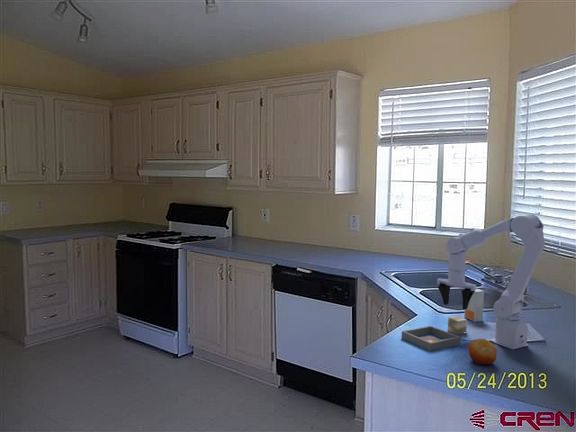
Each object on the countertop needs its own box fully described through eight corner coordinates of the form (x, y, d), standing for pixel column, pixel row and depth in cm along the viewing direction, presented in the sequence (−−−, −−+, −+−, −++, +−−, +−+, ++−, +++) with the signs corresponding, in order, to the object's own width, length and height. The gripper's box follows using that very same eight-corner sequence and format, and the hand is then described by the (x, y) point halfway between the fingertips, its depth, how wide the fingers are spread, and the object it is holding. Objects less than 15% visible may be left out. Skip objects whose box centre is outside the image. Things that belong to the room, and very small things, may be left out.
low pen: (460, 344, 162) (460, 337, 162) (430, 351, 156) (430, 343, 155) (430, 332, 174) (430, 325, 174) (401, 338, 167) (401, 331, 167)
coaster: (445, 342, 163) (445, 341, 163) (430, 346, 160) (430, 345, 160) (430, 336, 169) (430, 335, 169) (415, 339, 166) (415, 338, 166)
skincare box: (463, 317, 193) (465, 288, 192) (472, 316, 194) (473, 287, 193) (474, 322, 187) (475, 291, 186) (483, 321, 188) (484, 290, 187)
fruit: (486, 351, 152) (493, 334, 148) (495, 372, 146) (503, 355, 141) (461, 351, 152) (467, 334, 147) (469, 372, 146) (475, 355, 141)
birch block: (466, 333, 174) (466, 319, 174) (457, 334, 172) (457, 321, 172) (456, 329, 178) (457, 316, 178) (447, 331, 176) (448, 317, 175)
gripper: (481, 271, 173) (479, 308, 174) (444, 265, 184) (443, 300, 185) (471, 274, 168) (469, 312, 169) (434, 267, 179) (433, 303, 180)
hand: (455, 306), depth 177 cm, fingers open, 7 cm apart
